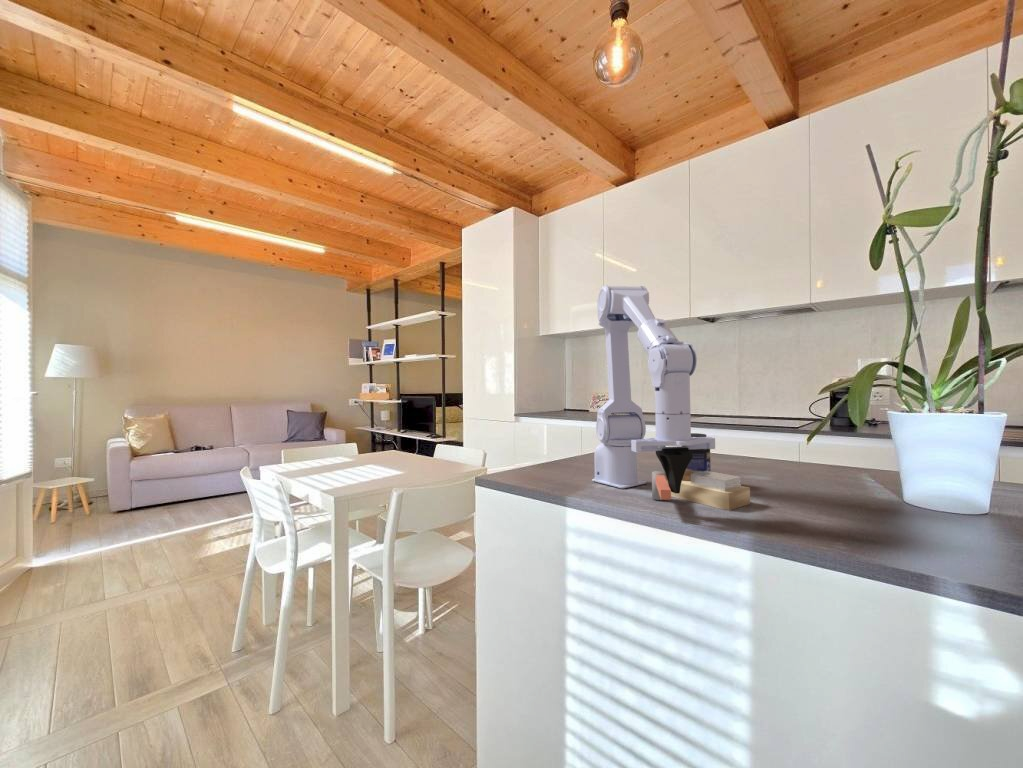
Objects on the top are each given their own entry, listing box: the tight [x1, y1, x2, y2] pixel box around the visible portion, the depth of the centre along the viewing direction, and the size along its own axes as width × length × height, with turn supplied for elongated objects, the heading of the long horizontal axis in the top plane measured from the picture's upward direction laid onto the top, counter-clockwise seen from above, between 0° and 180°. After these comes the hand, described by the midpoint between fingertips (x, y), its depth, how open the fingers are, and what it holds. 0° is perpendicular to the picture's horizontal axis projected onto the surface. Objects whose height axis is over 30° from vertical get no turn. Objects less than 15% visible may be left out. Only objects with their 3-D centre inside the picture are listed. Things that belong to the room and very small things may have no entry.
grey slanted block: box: [691, 470, 742, 492], centre depth 83 cm, size 7×5×2 cm
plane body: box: [671, 469, 751, 511], centre depth 85 cm, size 12×7×5 cm, turn 33°
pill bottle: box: [686, 432, 712, 474], centre depth 98 cm, size 6×6×11 cm
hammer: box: [651, 470, 672, 501], centre depth 80 cm, size 14×3×5 cm, turn 166°
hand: (674, 492), depth 76 cm, fingers closed
